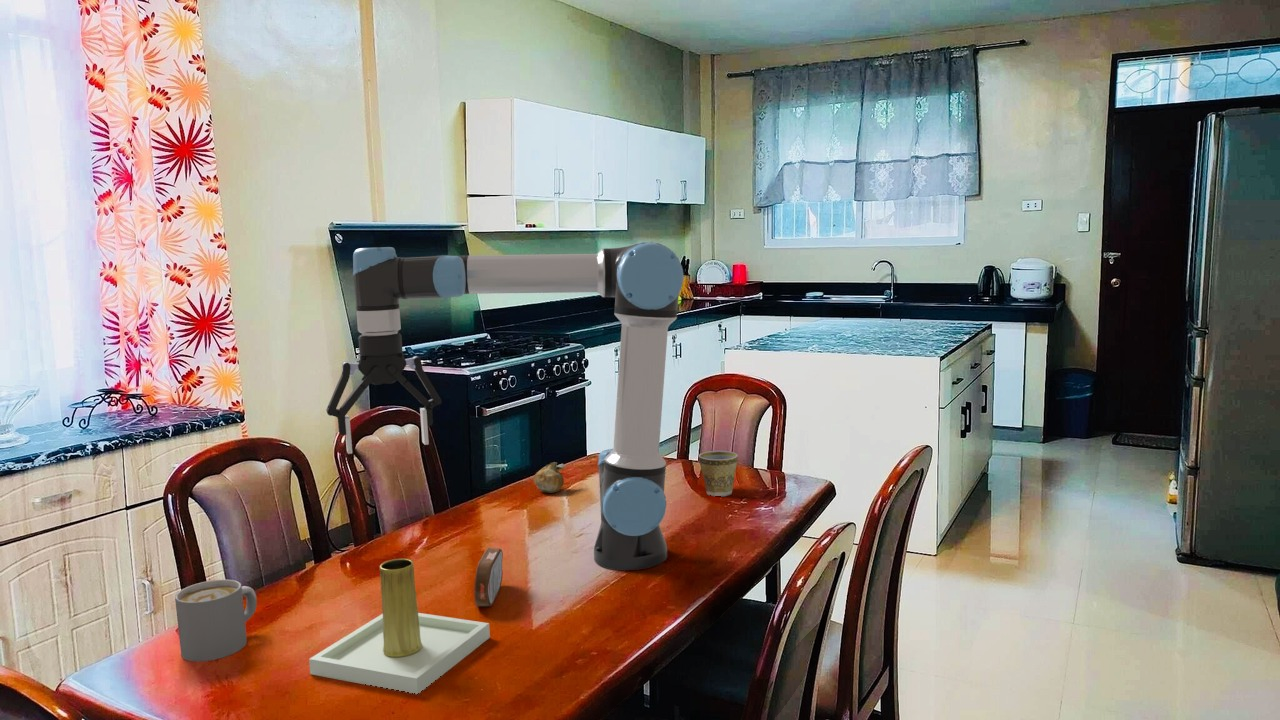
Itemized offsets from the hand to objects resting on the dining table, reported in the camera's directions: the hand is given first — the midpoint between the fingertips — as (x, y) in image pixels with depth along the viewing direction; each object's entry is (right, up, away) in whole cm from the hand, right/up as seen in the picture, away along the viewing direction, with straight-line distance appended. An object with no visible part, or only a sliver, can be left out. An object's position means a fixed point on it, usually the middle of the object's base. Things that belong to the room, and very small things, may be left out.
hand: (388, 447), depth 164 cm
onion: (+22, -19, +72) cm, 78 cm away
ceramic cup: (+67, -18, +67) cm, 96 cm away
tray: (+8, -31, -21) cm, 38 cm away
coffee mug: (-24, -32, -14) cm, 42 cm away
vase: (+8, -31, -21) cm, 38 cm away
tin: (+19, -28, +2) cm, 34 cm away
